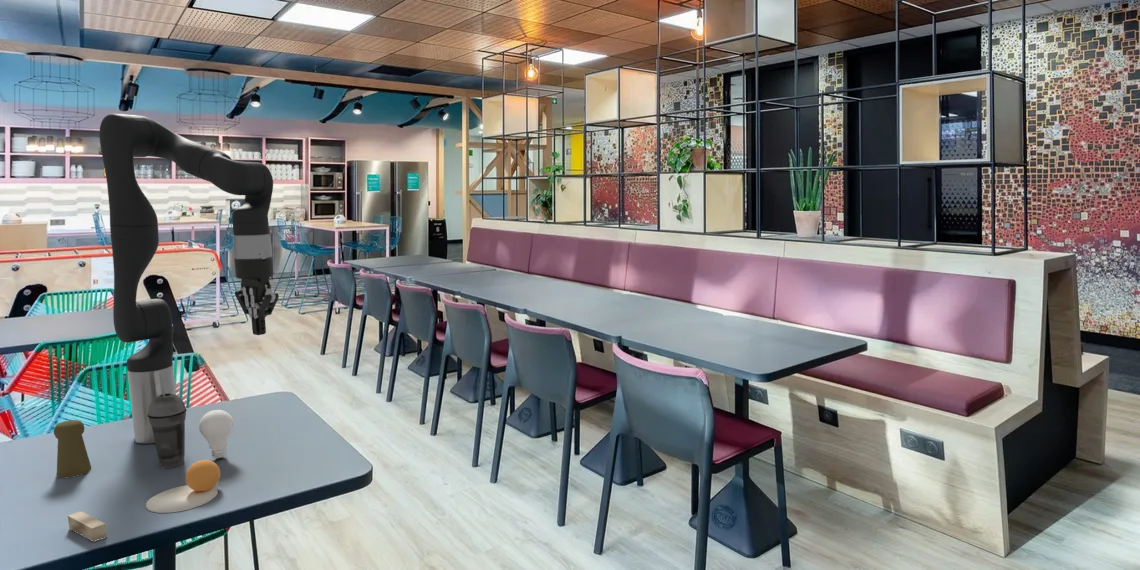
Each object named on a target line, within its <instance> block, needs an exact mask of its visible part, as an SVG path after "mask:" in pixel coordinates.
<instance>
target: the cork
mask: <svg viewBox="0 0 1140 570" xmlns="http://www.w3.org/2000/svg"><path fill="white" fill-rule="evenodd" d="M84 432H85V424H84V423H83V422H82V421H81V420H78V419H70V420H65V421H62V422H59V423H57V424H55V426H54V428H53V435H54V436H55V438H56V440H57V456H56V457H57V458H56V476H58V477H57V478H59V477H63V478H62V479H66V478H65V477H69V478H74V477H73V476H75V477H78V476H77V475H79V476H82V475H84V473H85V474H87V473H89V472H90V471H91V470H92V469H91V468H92V466H91V465H92V464H91V461H90V457H89V454H88V451H87V449H86V448H87V447H86V445H85V441H84V437H83V433H84ZM86 472H87V473H86ZM81 474H82V475H81Z"/></svg>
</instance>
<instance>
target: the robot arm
mask: <svg viewBox="0 0 1140 570" xmlns="http://www.w3.org/2000/svg"><path fill="white" fill-rule="evenodd" d="M98 136H99V144H100V151H101V158H102V161H103V167H104V173H105V174H104V175H105V178H106V185H107V188H106V189H107V197H108V206H109V207H108V208H109V227H110V228H109V229H110V230H109V231H110V243H111V251H112V262H113V263H112V265H113V305H112V307H113V308H112V311H113V312H112V313H113V314H112V315H113V316H112V317H113V318H112V319H113V326H114V331H115V334H116V336H117V338H118V339H119V340H120V341H121V342H123V343H126V344H127V343H134V342H140V341H146V340H148V342H147V344H145V346H144V347H142V348H141V349H140V350H138V351H137V352H136V353H133V354H131V355H130V356H129V357H128V358H127V360H126V368H127V369H126V370H127V377H128V378H127V379H128V386H129V395H130V405H131V406H130V407H131V415H132V423H133V434H134V441H135V443H137V444H141V445H143V444H144V445H145V444H149V445H150V444H155V440H154V435H153V430H152V426H151V424H150V421H149V417H148V409H149V406H150V404H151V402H152V401H153V400H154V399H155V398H156V397H158V396H159V395H162V389H161V383H160V376H159V374H160V373H162V378H163V384H164V390H165V394H168V393H169V394H174V395H177V393H176V392H177V391H176V382H175V374H174V373H175V372H174V364H173V362H174V361H173V358H174V357H173V356H174V339H173V336H174V335H173V333H174V332H173V318H172V317H173V316H172V312H171V308H170V306H169V304H168V302H166V301H165V300H164V299H161V298H151V299H143V300H137V291H138V288H139V287H138V286H139V283H140V280H141V278H142V276H143V274H144V273H145V271H146V269H147V267H148V266H149V265H150V263H151V261H152V259H153V258H154V256H155V254H156V252H157V251H158V247H159V243H160V242H159V241H160V238H159V237H160V236H159V222H158V216H157V213H156V211H155V208H154V207H153V205H152V203H151V202H150V201H149V199H148V198H147V196H146V195H145V193H144V192H143V190H142V189H141V187H140V185H139V184H138V183H139V182H138V181H137V177H136V173H135V165H134V158H146V157H150V158H151V157H152V158H153V157H155V158H158V159H159V158H160V159H165V160H167V161H171V162H173V163H175V165H177V166H178V168H180V170H182V171H183V172H185V173H186V174H188V175H191V176H193V177H195V178H197V179H201V180H204V181H207V182H209V183H211V184H212V185H214V186H215V187H217V188H218V189H219V190H221V191H223V192H225V193H227V194H229V195H234V196H244V199H243V203H242V205H241V206H238V207H236V208H234V209H233V211H232V213H231V216H232V217H231V218H232V219H231V220H232V230H233V231H232V232H233V242H232V243H233V246H232V249H233V261H234V272H235V278H236V279H238V280H240V289H239V290H235V291H234V296H235V298H236V300H237V302H238V303H239V305H240V307H241V309H242V311H243V313H244V314H245V315H248V317H249V318H250V319H251V327H252V329H251V331H252V335H255V336H262V335H265V334H267V327H266V317H268V316H271V315H272V314H273V311H274V309H275V306H276V304H277V302H278V300H279V297H280V296H279V293H277V292H276V293H274V292H273V291H272V290H271V289H272V285H271V282H270V278H271V277H273V276H274V263H273V261H274V260H273V248H272V246H273V245H272V242H271V237H270V225H269V212H270V207H271V201H272V196H273V192H274V177H273V174H272V172H271V170H270V169H269V167H268V166H267V165H265V164H264V163H262V162H256V161H254V162H253V161H238V160H234V159H232V158H231V157H230V156H229V155H228V154H227V153H225V152H223V151H220V150H218V149H215V148H213V147H210V146H207V145H204V144H203V143H199V142H196V141H193V140H191V139H189V138H186V137H184V136H182V135H180V134H178V133H176V132H175V131H172V130H171V129H169V128H168V127H165V126H164V125H162V124H161V123H159V122H158V121H156V120H154V119H153V118H151V117H147V116H145V115H136V114H123V113H109V114H107V115H106V116H104V117H103V119H102V120H101V123H100V126H99V135H98Z"/></svg>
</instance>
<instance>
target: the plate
mask: <svg viewBox="0 0 1140 570" xmlns="http://www.w3.org/2000/svg"><path fill="white" fill-rule="evenodd" d="M218 492H219V491H218V488H217V487H216V486H214V487H213V488H211V489H210V490H207V491H203V492H198V491H195V490H192V489H191V488H190V487H189V486H188V485H187V484H186V485H181V486H176V487H173V488H170V489H167V490H164V491H162V492H159V493H156V495H154V496H152V497H151V498H149V499H148V500H147V501H146V503H145V507H146V509H147V510H148V511H149V512H152V513H158V514H168V513H169V514H171V513H179V512H184V511H189V510H192V509H194V508H198V507H200V506H203V505H205V504H207V503H209V502H211V501H212V500H213V499H214V498H216V497H217V495H218Z"/></svg>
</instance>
